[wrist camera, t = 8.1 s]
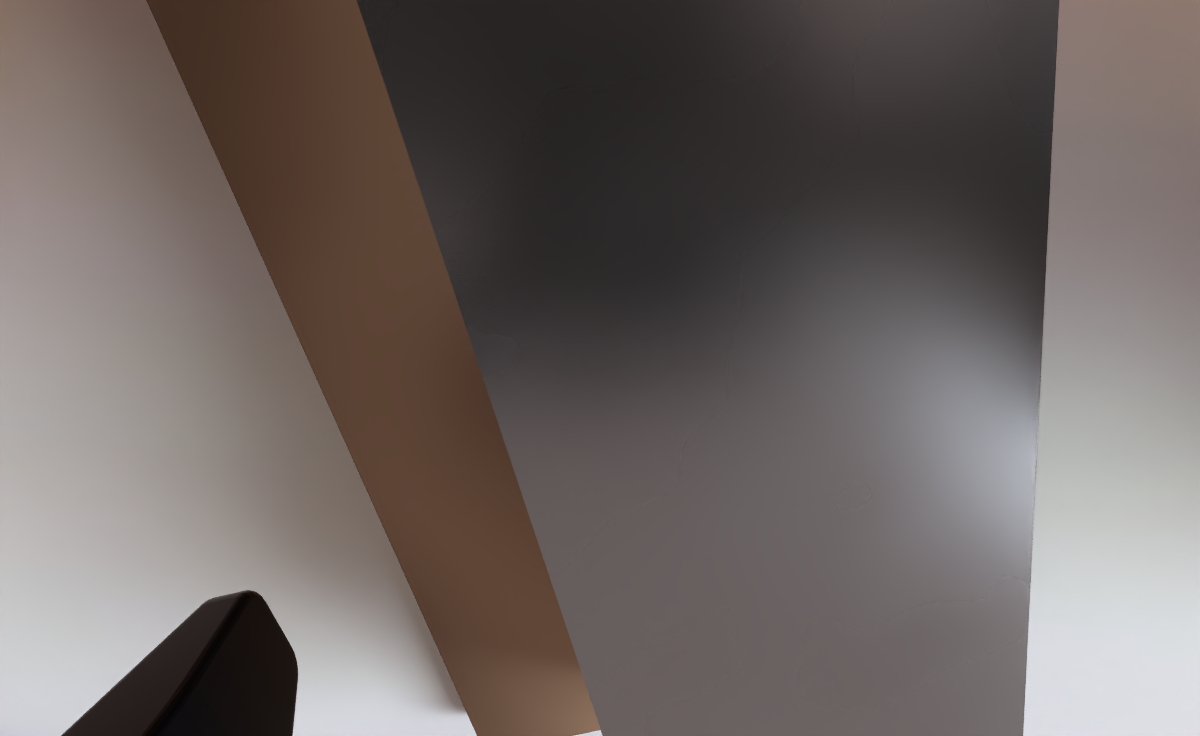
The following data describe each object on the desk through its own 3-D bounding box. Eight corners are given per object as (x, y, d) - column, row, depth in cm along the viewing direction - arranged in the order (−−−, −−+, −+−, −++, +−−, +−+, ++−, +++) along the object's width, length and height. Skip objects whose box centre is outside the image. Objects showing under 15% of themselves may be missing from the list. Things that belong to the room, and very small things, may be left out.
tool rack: (1012, -890, 9) (1504, -1703, 4) (988, 609, 19) (1124, 813, 15) (-74, -580, 9) (-627, -1032, 5) (487, 716, 20) (475, 945, 15)
